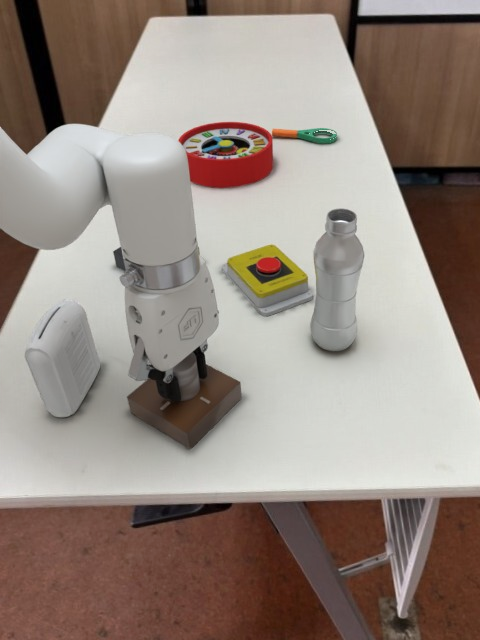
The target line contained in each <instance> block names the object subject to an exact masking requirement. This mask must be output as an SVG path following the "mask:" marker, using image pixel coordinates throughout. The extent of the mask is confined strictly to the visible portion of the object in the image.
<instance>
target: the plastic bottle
mask: <svg viewBox="0 0 480 640" xmlns="http://www.w3.org/2000/svg"><path fill="white" fill-rule="evenodd" d="M357 222H358V216H357V214H356V212H355V211H353V210H351V209H348V208H334V209H331V210H329V211H328V212H327V213H326V219H325V224H324V230H325V232H324V233H323V234H322V235H321V237H320V238H319V239H318V240H317V241H316V243H315V245H314V248H313V251H312V252H313V253H312V254H313V264H314V273H315V293H316V294H315V301H314V307H313V313H312V316H311V319H310V324H309V325H310V326H309V327H310V328H309V329H310V332H311V337H312V340H313V341H314V342H315V344H317V345H318V347H320V348H321V349H323V350H325V351H329V352H340V351H344V350H346V349H348V347H350V346H351V345H352V344H353V343H354V342H355V339H356V336H357V333H358V320H357V314H356V313H357V311H356V309H357V304H356V303H357V299H356V298H357V291H358V286H359V280H360V276H361V272H362V269H363V265H364V261H365V251H364V246H363V243H362V242H361V240H360V238H359V237H358V236H357V235H356V233H357V231H358V225H357Z"/></svg>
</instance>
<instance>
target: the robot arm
mask: <svg viewBox="0 0 480 640" xmlns="http://www.w3.org/2000/svg"><path fill="white" fill-rule="evenodd" d="M178 140H179V139H177V138H176V137H174V136H172V135H170V134H165V133H160V132H138V133H132V134H129V133H122V132H118V131H115V130H109V129H105V128H102V127H99V126H94V125H89V124H84V123H67V124H63V125H60V126H58V127H56V128H54V129H53V130H52V131H50V132H49V133H48V134H47V135H46V136H45V137H44V138H43V139H42V140H41V141H40V142H39V143H38V144H37V145H35V146H34V147H33V148H32V149H31V150H29V152H28V153H26V152H24V151H23V149H21V147H19V146H18V144H17V143H16V142H15V141H14V140H13V139H12V138H11V137H10V135H8V133H6V131H5V130H4V129H3V128H2V127H1V126H0V230H2V231H3V232H4V233H5V234H7V235H8V236H10V237H11V238H13V239H15V240H16V241H19V243H21V244H24V245H27V246H29V247H31V248H34V249H38V250H42V251H43V250H44V251H55V250H60V249H64V248H67V247H68V246H69V245H71V244H73V243H74V242H76V241H77V240H78V239H79V238H80V236H82V235H83V233H84V232H85V230H86V229H87V227H88V226H89V225H90V223H91V222H92V221H93V219H94V217H95V216H96V215H97V213H98V212H99V210H101V209H102V208H104V207H106V206H111V210H112V213H113V218H114V223H115V228H116V231H117V236H118V241H119V244H120V247H121V250H122V255H123V259H124V264H125V269H126V271H124V272H123V273H122V275H120V276H119V282H120V283H121V285H122V286H123V287H124V308H125V321H126V328H127V333H128V334H127V335H128V338H129V342H130V343H129V344H130V347H131V349H132V353H133V354H132V357H131V362H130V366H129V369H128V372H127V376H128V377H129V378H131V379H133V380H134V381H136V382H143V381H146V380H148V379H151V380H156V385H157V389H158V393H159V394H160V396H162V397H163V398H165V399H170V400H172V401H173V402H175V403H179V402H180V401H181V394H180V389H179V383H178V379H177V377H175V376H173V367H174V366H176V365H177V364H178V363H179V362H181V361H182V360H183V359H184V358H186V357H187V356H188V355H189V354H190V353H192V352H193V353H194V354H195V356H196V360H197V367H198V374H199V378H201V379H205V378H206V377H207V368H206V364H207V362H206V354H205V353H206V352H207V351H208V348H209V344H208V339H209V338H210V337H211V336H213V334H214V333H215V332H216V331H217V329H218V328H219V325H220V318H219V317H220V316H219V314H220V311H219V309H218V302H217V298H216V297H217V296H216V292H215V287H214V282H213V279H212V276H211V273H210V270H209V268H208V266H207V263H206V261H205V259H204V257H203V256H201V254H200V255H199V253H200V249H199V250H198V247H199V243H198V242H199V241H198V236H197V235H198V234H197V227H196V218H195V209H194V201H193V192H192V182H191V181H190V174H189V166H188V159H187V154H186V151H185V149H184V147H183V146H182V144H181V143H180V142H179V141H178Z"/></svg>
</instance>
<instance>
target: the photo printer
mask: <svg viewBox="0 0 480 640" xmlns="http://www.w3.org/2000/svg"><path fill="white" fill-rule="evenodd" d="M86 312H87V311H86V310H85V308H84V307H83V306H82V305H81V304H80V303H79V302H78V301H77V300H74V299H66V298H65V299H62V300H60V301H58V302H56V303H55V304H54V305H52V306H51V307H50V308H49V309H48V310H47V311H46V312H45V313H44V314H43V315H42V316H41V318H40V319H39V320H38V322H37V323H36V325H35V327H34V328H33V330H32V332H31V334H30V336H29V338H28V340H27V342H26V346H25V348H24V359H25V362H26V365H27V367H28V369H29V371H30V374H31V376H32V380H33V382H34V385H35V386H36V389H37V391H38V394H39V397H40V399H41V401H42V403H43V406H44V408H45V410H46V411H47V412H49V414H51V416H53V417H56V418H67V417H70V416H71V415H74V414H75V413H76V412H77V410H78V409H79V407H81V405H82V402H83V401H84V399H85V397H86V396H87V394H88V392H89V390H90V388H91V386H92V385H93V383H94V381H95V379H96V377H97V376H98V373H99V371H100V368H101V361H100V358H99V354H98V350H97V347H96V343H95V341H94V337H93V333H92V331H91V330H92V329H91V327H90V322H89V320H88V315H87V313H86Z"/></svg>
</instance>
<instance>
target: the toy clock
mask: <svg viewBox="0 0 480 640" xmlns="http://www.w3.org/2000/svg"><path fill="white" fill-rule="evenodd" d="M177 140H178V141H179V142H180V143H181V144H182V146H183V147H184V149H185V151H186V154H187V159H188V166H189V174H190V183H193V184H196V185H198V186H202V187H205V188H214V189H216V188H217V189H230V188H239V187H244V186H248V185H251V184H255V183H257V182H259V181H262V180H263V179H265V178H266V177H268V176H269V175H270V173H272V171H273V168H274V149H273V148H274V145H273V144H274V142H273V136H272V133H270V131H269V130H267V129H265V128H264V127H262V126H259V125H258V124H257V125H256V124H254V123H248V122H242V121H241V122H240V121H220V122H211V123H206V124H202V125H198V126H196V127H193V128H191V129H189V130H187V131H185V132H184V133H183V134H182V135H181V136H179V138H178V139H177Z"/></svg>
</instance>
